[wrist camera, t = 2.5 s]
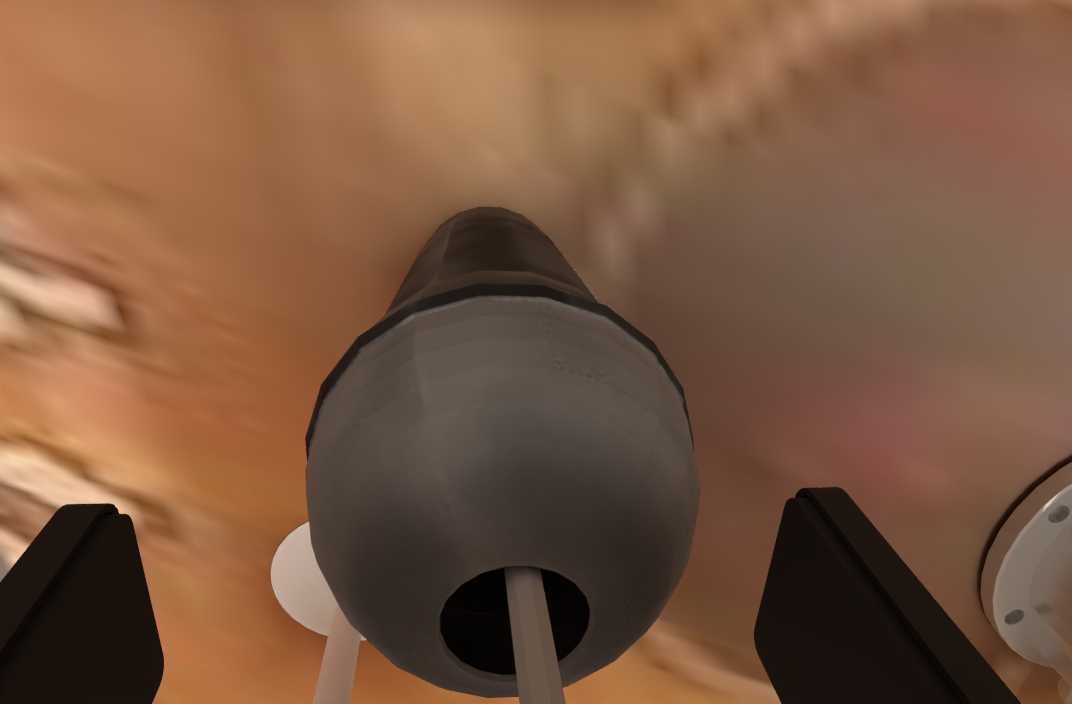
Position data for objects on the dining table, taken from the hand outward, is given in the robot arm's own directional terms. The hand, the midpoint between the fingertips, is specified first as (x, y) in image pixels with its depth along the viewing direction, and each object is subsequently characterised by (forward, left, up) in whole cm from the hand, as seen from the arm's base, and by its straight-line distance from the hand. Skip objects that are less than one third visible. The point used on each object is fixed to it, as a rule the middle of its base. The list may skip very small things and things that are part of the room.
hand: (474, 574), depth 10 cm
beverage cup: (0, -1, -15) cm, 15 cm away
